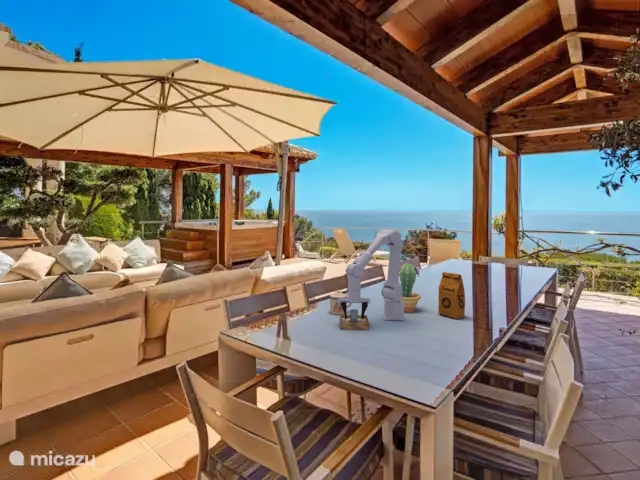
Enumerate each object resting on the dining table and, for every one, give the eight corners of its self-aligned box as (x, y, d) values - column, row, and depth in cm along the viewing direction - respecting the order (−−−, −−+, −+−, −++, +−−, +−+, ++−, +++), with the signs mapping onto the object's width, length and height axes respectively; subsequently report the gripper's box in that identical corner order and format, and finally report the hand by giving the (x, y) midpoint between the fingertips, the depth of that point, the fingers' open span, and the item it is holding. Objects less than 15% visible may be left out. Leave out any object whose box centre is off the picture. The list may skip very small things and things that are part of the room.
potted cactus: (420, 314, 190) (421, 266, 188) (390, 312, 194) (390, 265, 192) (420, 307, 205) (421, 262, 203) (392, 305, 209) (393, 261, 207)
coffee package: (454, 320, 179) (456, 275, 178) (435, 314, 190) (436, 272, 188) (468, 317, 184) (469, 274, 183) (448, 311, 195) (449, 270, 193)
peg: (357, 324, 173) (357, 309, 173) (357, 326, 170) (357, 311, 169) (350, 323, 173) (350, 309, 173) (350, 326, 170) (350, 311, 169)
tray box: (367, 321, 178) (367, 315, 177) (369, 329, 165) (369, 323, 164) (339, 320, 178) (340, 314, 178) (339, 329, 165) (339, 322, 165)
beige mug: (332, 315, 187) (333, 293, 186) (327, 311, 196) (327, 289, 195) (354, 313, 191) (355, 291, 190) (348, 309, 199) (348, 288, 198)
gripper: (368, 287, 174) (368, 316, 175) (338, 287, 174) (337, 315, 175) (370, 290, 167) (370, 320, 168) (338, 290, 167) (338, 320, 168)
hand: (354, 318), depth 171 cm, fingers open, 7 cm apart
